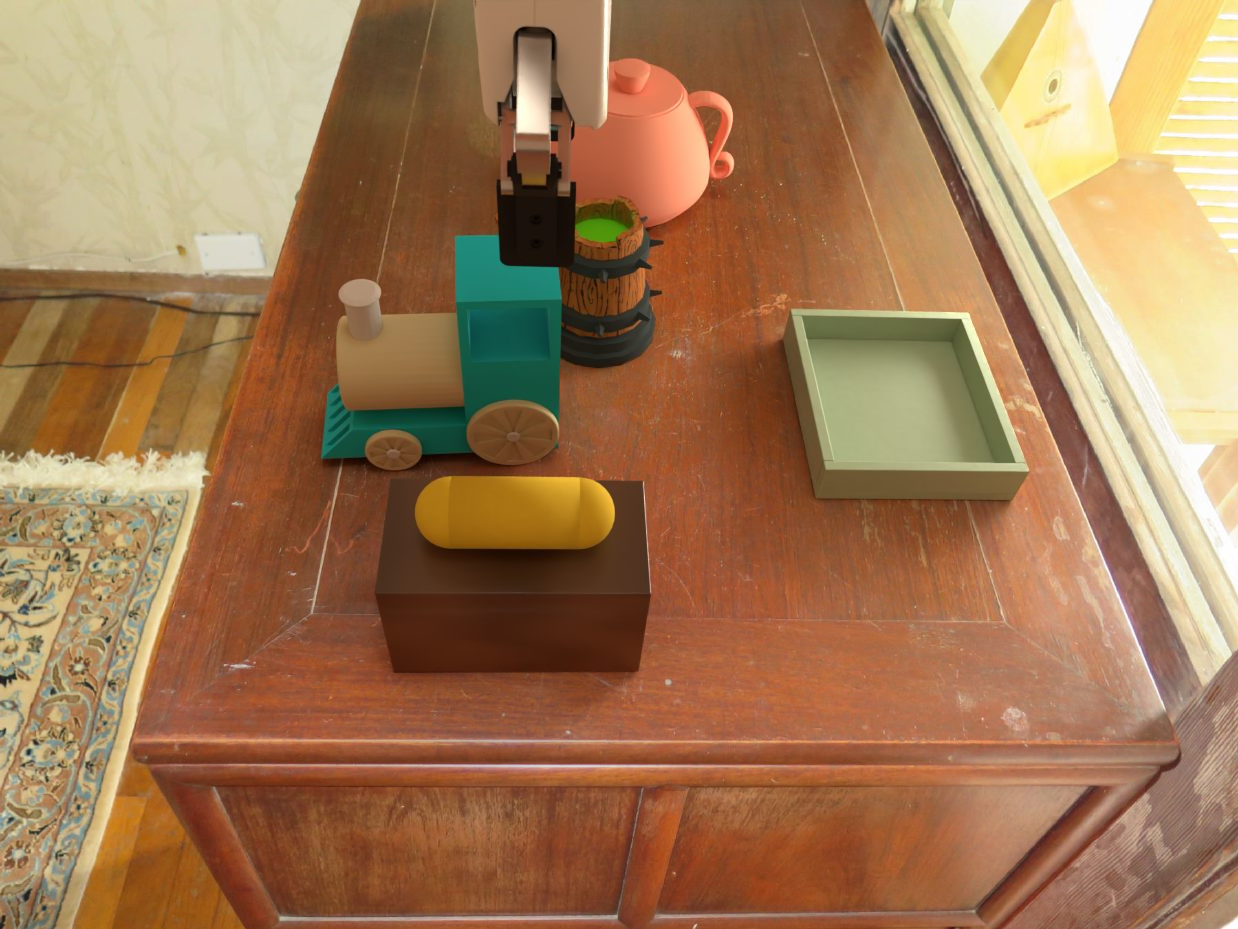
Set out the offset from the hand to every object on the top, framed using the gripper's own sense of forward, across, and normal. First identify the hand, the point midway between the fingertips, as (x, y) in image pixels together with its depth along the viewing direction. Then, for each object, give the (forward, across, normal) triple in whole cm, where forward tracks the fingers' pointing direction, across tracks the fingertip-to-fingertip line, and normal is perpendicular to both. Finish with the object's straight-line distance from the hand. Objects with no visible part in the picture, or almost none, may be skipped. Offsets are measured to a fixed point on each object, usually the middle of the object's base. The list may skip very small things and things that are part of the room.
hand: (539, 196), depth 46 cm
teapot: (+27, +40, -6) cm, 49 cm away
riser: (+28, -6, +1) cm, 28 cm away
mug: (+28, +21, -2) cm, 35 cm away
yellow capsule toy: (+18, -6, +1) cm, 19 cm away
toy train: (+28, +10, +8) cm, 30 cm away
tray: (+28, +12, -27) cm, 40 cm away
